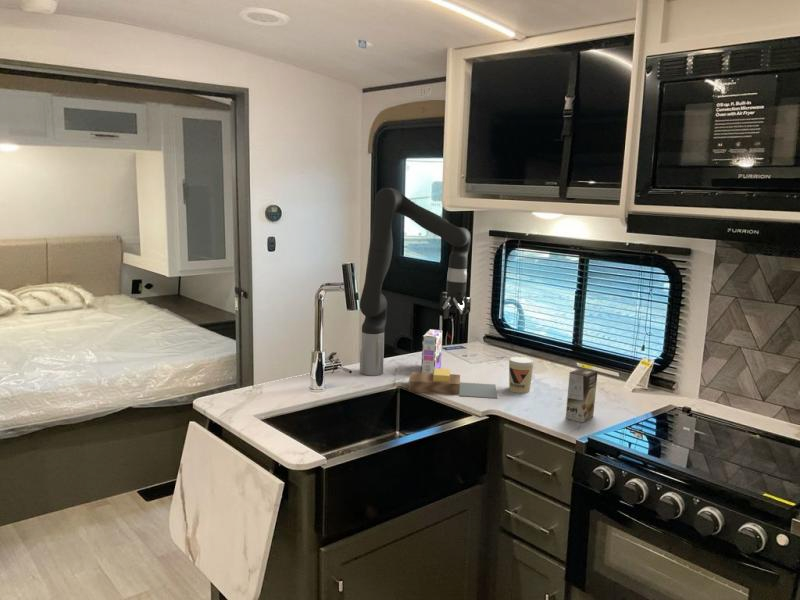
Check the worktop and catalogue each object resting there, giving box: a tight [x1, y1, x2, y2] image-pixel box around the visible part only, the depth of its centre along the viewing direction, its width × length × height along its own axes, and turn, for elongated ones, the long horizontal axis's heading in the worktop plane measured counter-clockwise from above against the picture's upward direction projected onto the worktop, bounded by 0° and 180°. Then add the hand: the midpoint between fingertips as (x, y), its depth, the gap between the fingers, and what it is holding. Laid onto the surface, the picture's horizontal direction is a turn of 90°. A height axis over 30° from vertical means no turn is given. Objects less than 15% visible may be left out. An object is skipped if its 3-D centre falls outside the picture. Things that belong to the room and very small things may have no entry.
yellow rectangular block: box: [433, 367, 451, 382], centre depth 235 cm, size 6×9×2 cm, turn 174°
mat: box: [458, 381, 499, 400], centre depth 235 cm, size 14×16×1 cm
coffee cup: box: [508, 356, 535, 394], centre depth 236 cm, size 9×9×12 cm
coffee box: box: [565, 367, 598, 423], centre depth 208 cm, size 9×6×16 cm
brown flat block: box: [408, 371, 461, 395], centre depth 236 cm, size 19×12×4 cm, turn 84°
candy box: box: [420, 328, 443, 373], centre depth 258 cm, size 14×6×16 cm, turn 165°
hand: (453, 320), depth 240 cm, fingers open, 8 cm apart
